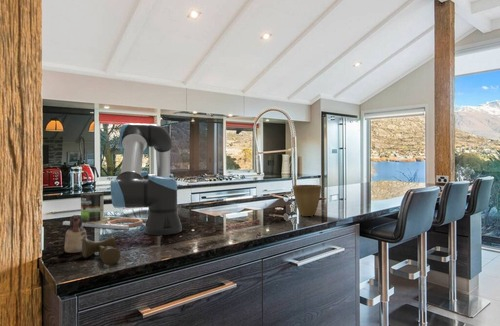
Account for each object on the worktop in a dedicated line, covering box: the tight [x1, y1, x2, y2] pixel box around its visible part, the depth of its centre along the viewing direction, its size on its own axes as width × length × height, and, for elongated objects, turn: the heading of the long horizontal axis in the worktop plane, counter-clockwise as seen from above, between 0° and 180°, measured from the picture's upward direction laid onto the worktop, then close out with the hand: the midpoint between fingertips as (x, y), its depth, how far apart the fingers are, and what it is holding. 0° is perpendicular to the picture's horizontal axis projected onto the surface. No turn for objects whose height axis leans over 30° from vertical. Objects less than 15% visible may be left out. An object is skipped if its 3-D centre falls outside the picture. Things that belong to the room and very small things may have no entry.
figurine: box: [64, 214, 88, 254], centre depth 117 cm, size 7×7×12 cm
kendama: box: [81, 235, 122, 266], centre depth 108 cm, size 6×10×20 cm
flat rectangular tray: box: [62, 215, 148, 230], centre depth 164 cm, size 36×19×2 cm, turn 71°
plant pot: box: [292, 184, 322, 217], centre depth 182 cm, size 15×15×16 cm
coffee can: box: [80, 191, 105, 222], centre depth 167 cm, size 10×10×14 cm
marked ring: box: [106, 217, 144, 228], centre depth 161 cm, size 15×15×2 cm
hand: (104, 204), depth 175 cm, fingers open, 13 cm apart
